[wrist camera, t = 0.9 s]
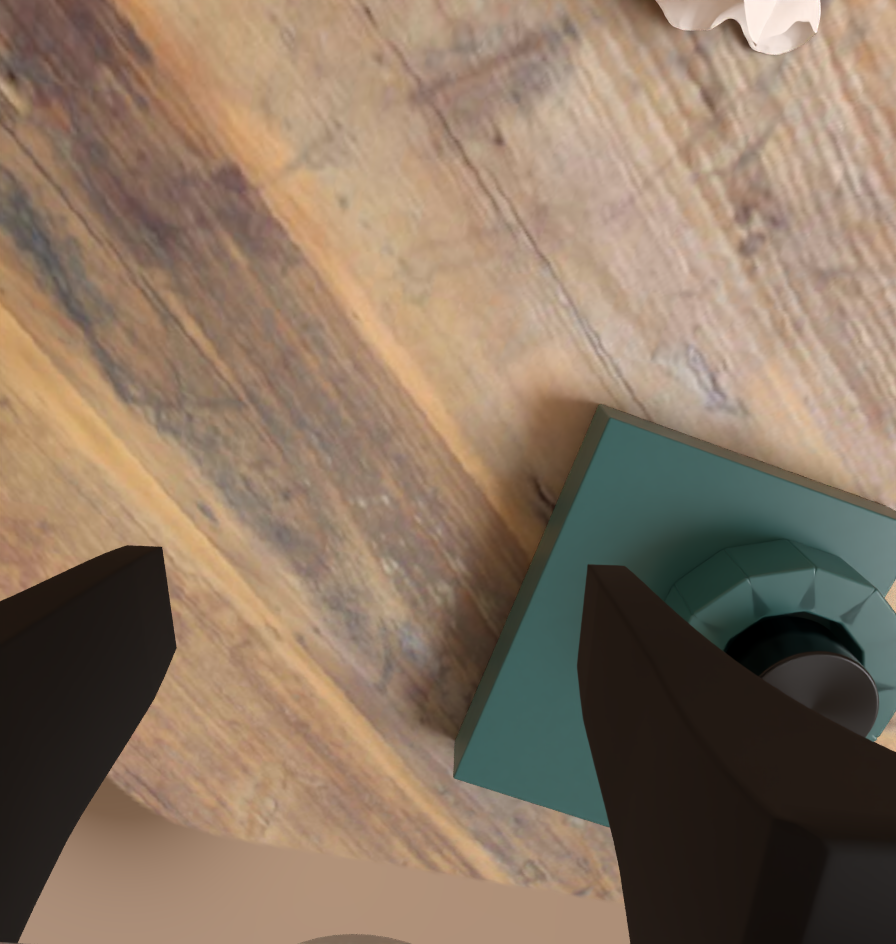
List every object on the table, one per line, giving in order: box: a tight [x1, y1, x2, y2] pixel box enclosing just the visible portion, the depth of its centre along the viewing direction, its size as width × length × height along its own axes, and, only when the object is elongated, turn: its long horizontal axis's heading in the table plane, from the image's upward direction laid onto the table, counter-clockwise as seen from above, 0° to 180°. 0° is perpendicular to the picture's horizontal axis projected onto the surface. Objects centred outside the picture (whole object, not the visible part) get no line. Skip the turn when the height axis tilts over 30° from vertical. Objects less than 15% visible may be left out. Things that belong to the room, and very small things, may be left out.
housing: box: [453, 404, 896, 827], centre depth 20 cm, size 12×10×4 cm
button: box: [726, 617, 879, 737], centre depth 18 cm, size 3×3×2 cm
